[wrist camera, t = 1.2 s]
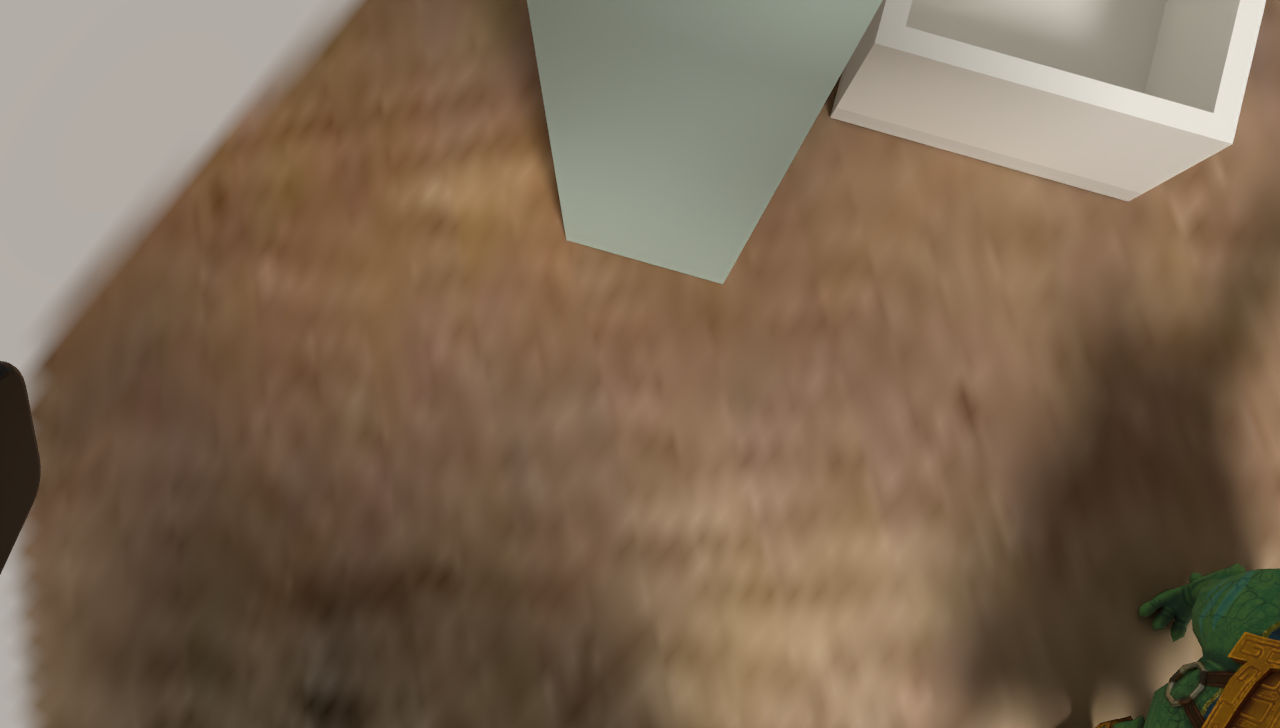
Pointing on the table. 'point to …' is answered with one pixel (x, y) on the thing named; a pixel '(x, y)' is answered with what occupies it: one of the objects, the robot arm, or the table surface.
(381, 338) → the table surface
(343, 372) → the table surface
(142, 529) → the table surface
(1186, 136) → the ceramic well
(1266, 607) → the figurine
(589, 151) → the sage bracket post
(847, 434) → the table surface
